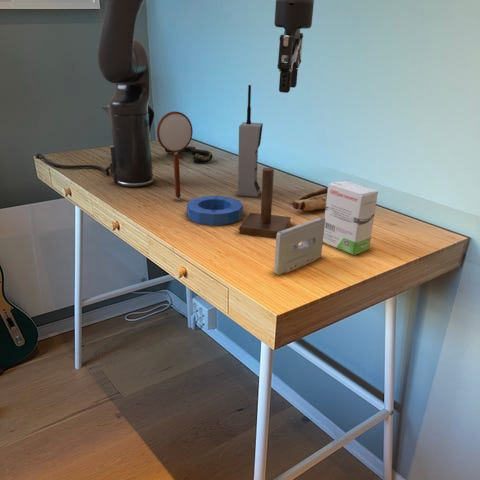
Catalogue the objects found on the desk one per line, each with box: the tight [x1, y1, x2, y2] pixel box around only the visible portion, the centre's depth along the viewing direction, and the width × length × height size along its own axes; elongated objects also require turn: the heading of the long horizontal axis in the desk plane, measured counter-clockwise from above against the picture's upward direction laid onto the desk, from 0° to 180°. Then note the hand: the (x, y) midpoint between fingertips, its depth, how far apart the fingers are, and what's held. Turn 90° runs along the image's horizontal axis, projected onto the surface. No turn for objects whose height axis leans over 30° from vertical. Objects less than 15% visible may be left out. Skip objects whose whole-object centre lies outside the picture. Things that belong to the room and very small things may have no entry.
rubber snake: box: [164, 145, 213, 164], centre depth 152 cm, size 18×5×10 cm
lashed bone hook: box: [292, 187, 328, 212], centre depth 116 cm, size 9×5×18 cm
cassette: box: [273, 216, 325, 276], centre depth 87 cm, size 12×2×8 cm, turn 133°
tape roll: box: [186, 195, 244, 227], centre depth 110 cm, size 12×12×3 cm
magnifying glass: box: [156, 110, 194, 202], centre depth 113 cm, size 9×2×20 cm, turn 121°
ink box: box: [323, 180, 379, 256], centre depth 94 cm, size 9×5×12 cm, turn 39°
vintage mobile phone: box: [237, 84, 264, 198], centre depth 117 cm, size 4×5×25 cm
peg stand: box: [238, 167, 292, 239], centre depth 101 cm, size 9×9×12 cm
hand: (287, 89), depth 106 cm, fingers open, 8 cm apart
